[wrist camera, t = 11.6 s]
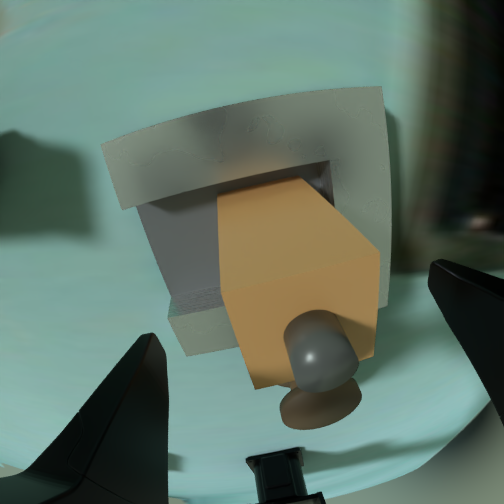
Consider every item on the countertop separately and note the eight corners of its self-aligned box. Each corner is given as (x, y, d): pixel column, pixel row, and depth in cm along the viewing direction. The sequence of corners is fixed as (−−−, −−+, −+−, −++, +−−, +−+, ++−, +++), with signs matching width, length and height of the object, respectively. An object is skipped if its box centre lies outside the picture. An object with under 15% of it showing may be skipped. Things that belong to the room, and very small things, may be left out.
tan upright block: (309, 247, 16) (391, 389, 8) (236, 265, 16) (261, 428, 7) (298, 175, 14) (411, 284, 6) (217, 194, 14) (223, 337, 6)
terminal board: (370, 283, 18) (387, 306, 16) (188, 328, 18) (186, 356, 16) (356, 87, 13) (381, 86, 10) (118, 137, 13) (100, 144, 10)
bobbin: (342, 367, 22) (363, 416, 18) (270, 387, 22) (281, 439, 18) (342, 314, 19) (371, 368, 15) (256, 336, 19) (268, 397, 15)
